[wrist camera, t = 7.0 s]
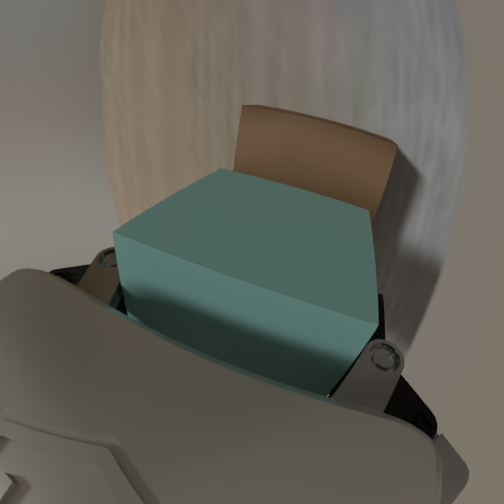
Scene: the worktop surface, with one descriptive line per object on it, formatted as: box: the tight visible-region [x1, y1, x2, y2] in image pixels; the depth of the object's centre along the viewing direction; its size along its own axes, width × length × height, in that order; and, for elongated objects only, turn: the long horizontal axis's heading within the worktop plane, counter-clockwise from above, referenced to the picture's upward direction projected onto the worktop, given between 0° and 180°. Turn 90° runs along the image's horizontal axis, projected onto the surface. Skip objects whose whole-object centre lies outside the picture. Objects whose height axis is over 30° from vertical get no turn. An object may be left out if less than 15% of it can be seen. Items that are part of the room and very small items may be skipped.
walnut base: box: [233, 105, 398, 226], centre depth 17 cm, size 10×9×3 cm
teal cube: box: [113, 169, 379, 396], centre depth 9 cm, size 6×6×6 cm
